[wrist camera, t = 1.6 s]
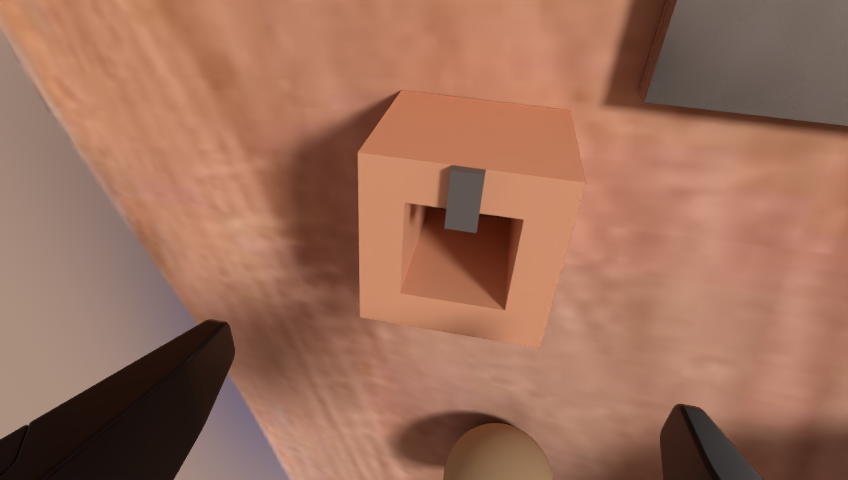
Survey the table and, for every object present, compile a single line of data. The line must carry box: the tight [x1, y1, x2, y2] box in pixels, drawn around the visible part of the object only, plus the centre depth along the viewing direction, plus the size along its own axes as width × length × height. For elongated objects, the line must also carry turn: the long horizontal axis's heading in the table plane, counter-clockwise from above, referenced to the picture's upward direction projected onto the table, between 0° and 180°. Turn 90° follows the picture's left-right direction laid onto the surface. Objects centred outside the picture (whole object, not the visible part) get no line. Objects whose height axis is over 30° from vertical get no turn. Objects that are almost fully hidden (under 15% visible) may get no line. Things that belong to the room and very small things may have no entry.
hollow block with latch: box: [358, 90, 586, 348], centre depth 15 cm, size 5×5×5 cm
